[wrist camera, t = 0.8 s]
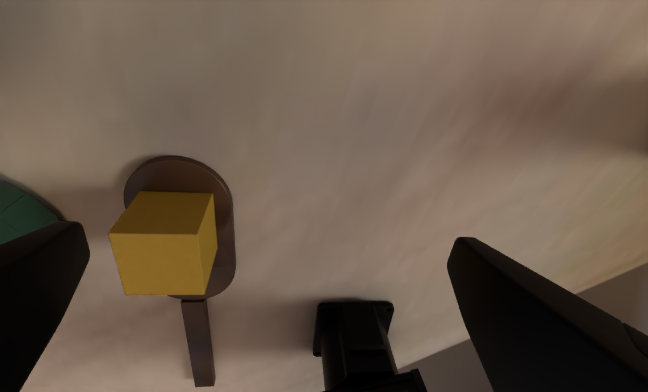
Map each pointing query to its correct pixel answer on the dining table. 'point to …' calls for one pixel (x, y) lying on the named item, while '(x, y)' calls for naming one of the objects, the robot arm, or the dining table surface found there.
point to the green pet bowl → (20, 213)
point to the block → (165, 243)
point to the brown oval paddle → (202, 179)
